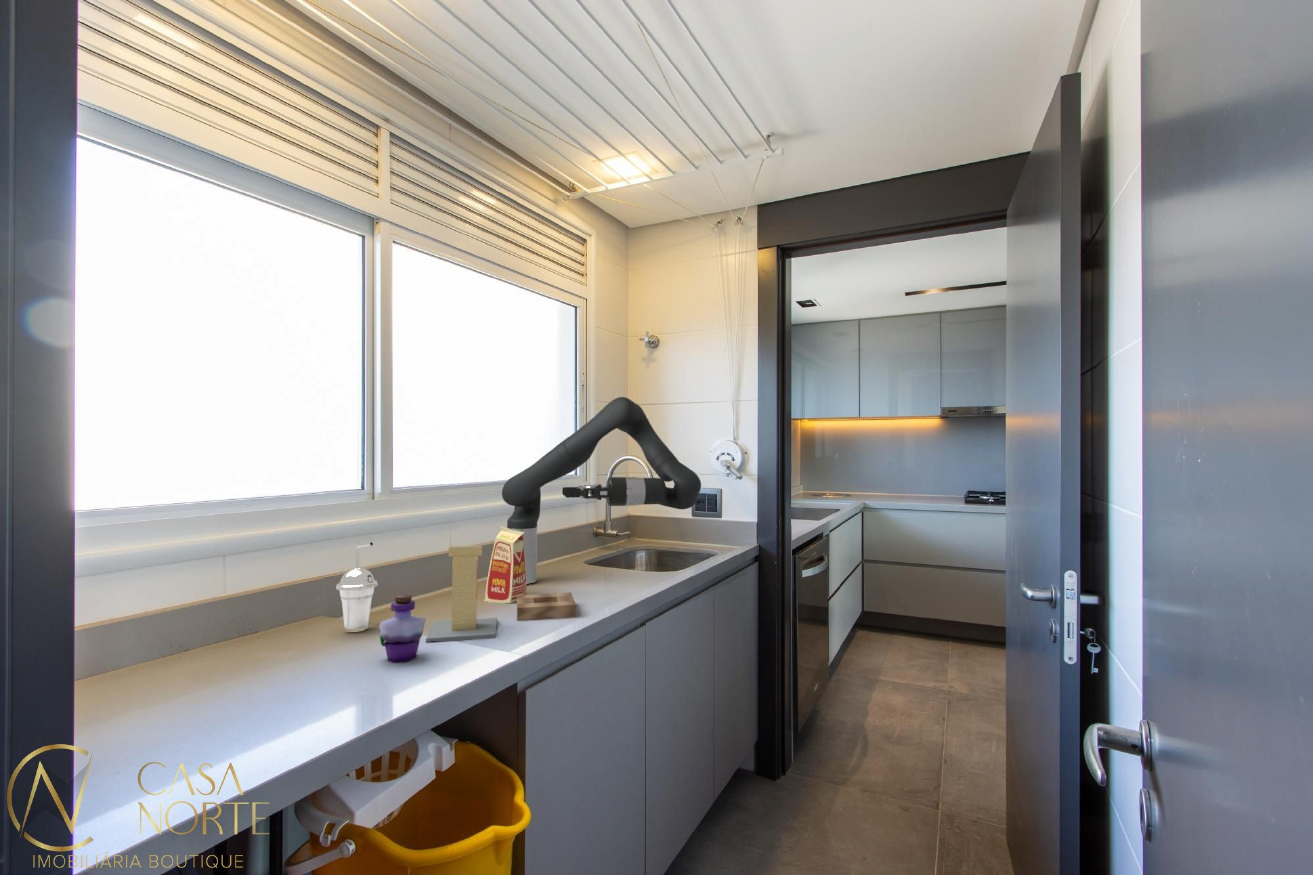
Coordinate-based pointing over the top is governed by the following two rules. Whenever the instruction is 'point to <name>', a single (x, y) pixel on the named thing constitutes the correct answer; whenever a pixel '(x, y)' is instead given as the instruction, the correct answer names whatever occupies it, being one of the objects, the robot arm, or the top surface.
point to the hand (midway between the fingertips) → (563, 492)
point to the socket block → (545, 606)
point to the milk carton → (507, 568)
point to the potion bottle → (402, 631)
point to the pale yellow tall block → (464, 586)
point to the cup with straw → (356, 594)
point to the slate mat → (462, 631)
